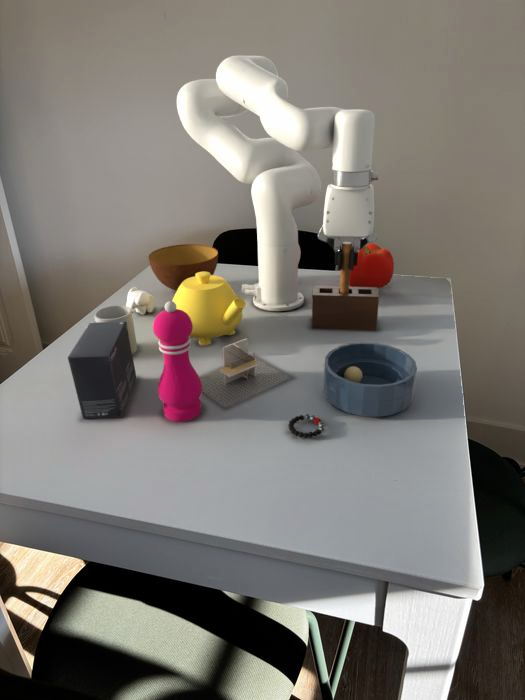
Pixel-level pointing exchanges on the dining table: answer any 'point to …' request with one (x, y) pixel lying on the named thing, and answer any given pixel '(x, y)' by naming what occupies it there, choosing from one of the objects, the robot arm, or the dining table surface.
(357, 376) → the dough ball
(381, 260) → the red bell pepper
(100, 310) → the cup
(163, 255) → the bowl
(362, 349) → the mixing bowl
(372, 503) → the dining table surface
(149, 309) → the elephant figurine
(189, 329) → the pepper mill
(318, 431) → the bracelet
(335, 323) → the rack
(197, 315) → the teapot
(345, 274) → the stick
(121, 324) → the small box
